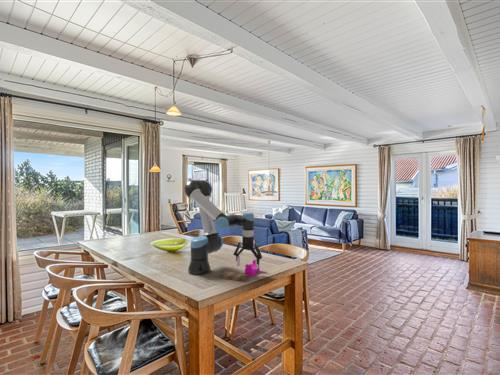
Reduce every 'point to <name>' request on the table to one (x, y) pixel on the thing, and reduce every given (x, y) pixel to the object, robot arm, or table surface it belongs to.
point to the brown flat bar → (234, 276)
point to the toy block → (251, 268)
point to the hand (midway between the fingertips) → (247, 267)
